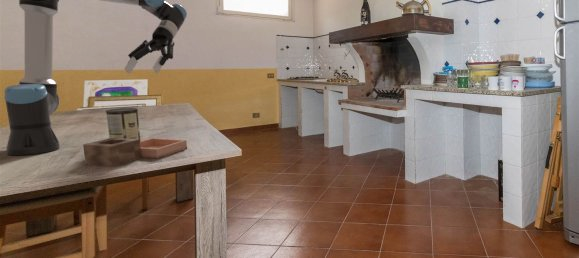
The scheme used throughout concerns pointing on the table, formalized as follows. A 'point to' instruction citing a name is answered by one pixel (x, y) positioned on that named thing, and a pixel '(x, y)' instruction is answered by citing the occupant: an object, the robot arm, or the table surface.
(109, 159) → the brown square planter
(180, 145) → the dish
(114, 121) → the coffee can
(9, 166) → the table surface
